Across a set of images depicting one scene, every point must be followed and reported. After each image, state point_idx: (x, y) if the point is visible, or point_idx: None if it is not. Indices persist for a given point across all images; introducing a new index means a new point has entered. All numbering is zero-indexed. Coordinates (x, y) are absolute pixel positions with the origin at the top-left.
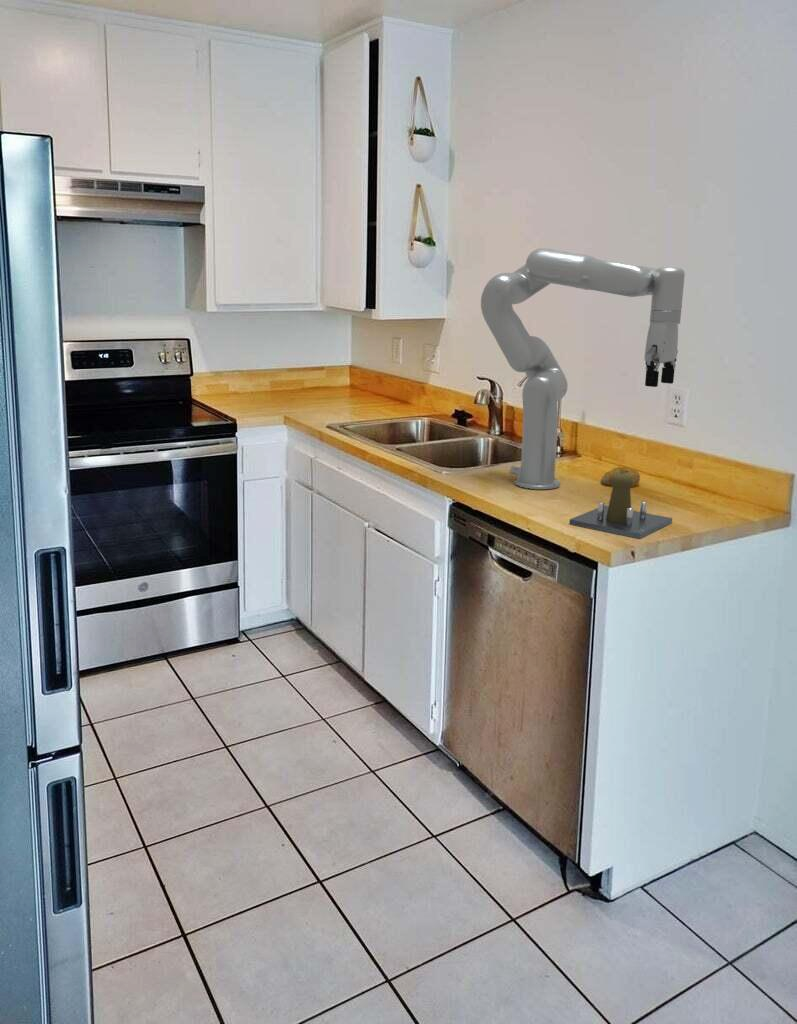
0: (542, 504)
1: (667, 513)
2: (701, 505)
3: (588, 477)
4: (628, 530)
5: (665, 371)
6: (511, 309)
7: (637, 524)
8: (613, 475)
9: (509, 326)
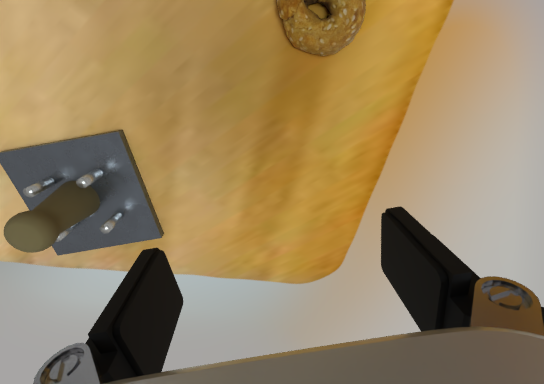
0: (28, 19)
1: (201, 202)
2: (287, 206)
3: None
4: None
5: (420, 282)
6: None
7: (87, 229)
8: (8, 225)
9: None
